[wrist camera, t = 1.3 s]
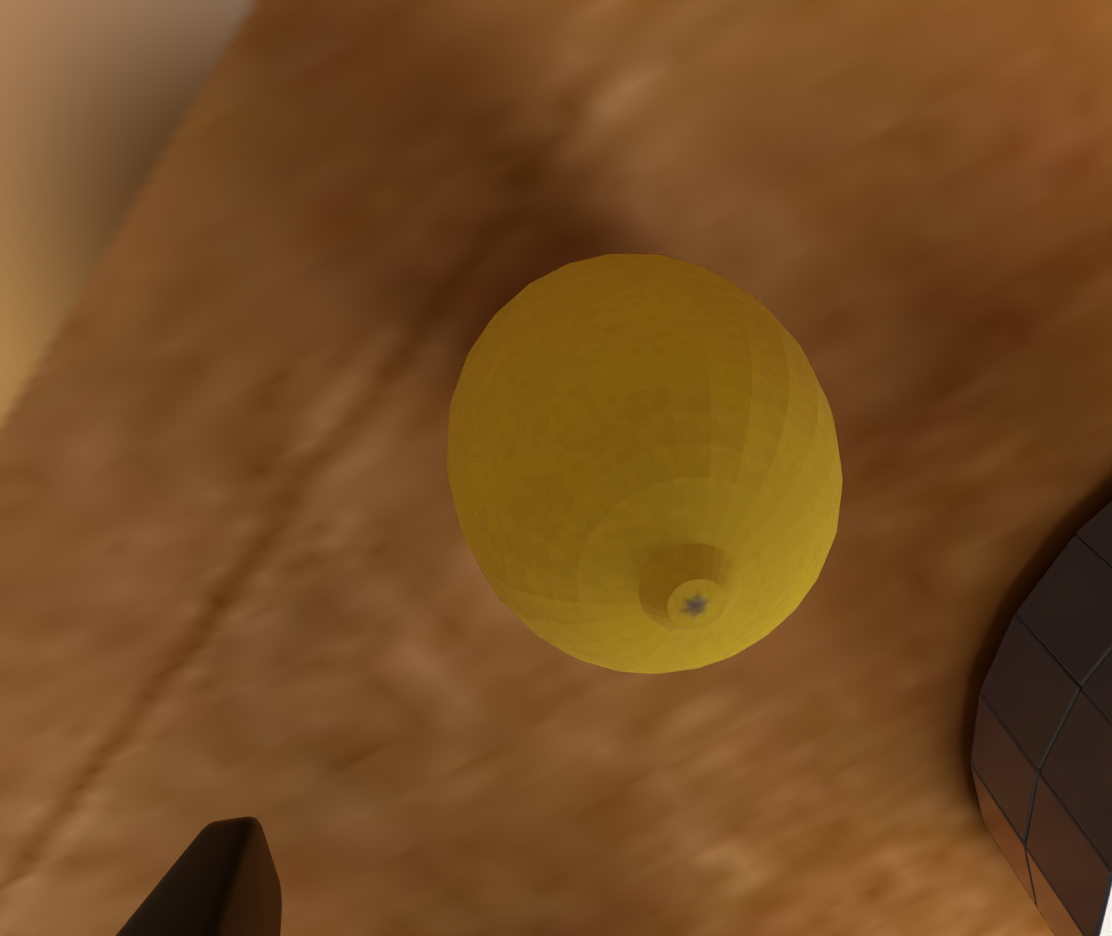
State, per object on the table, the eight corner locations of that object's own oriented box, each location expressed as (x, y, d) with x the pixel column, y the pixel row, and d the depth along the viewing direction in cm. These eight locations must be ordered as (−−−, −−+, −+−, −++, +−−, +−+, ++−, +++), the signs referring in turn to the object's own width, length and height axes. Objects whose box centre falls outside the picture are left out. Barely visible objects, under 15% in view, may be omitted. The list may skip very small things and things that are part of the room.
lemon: (660, 139, 16) (828, 274, 9) (791, 397, 19) (1001, 660, 12) (383, 308, 17) (344, 550, 10) (542, 535, 20) (600, 857, 13)
